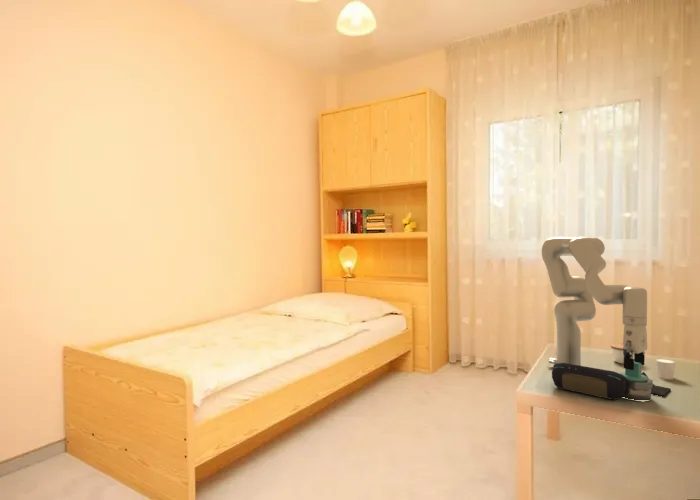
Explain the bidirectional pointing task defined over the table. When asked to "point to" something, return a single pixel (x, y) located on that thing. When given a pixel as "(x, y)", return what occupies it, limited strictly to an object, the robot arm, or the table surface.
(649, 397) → the octagonal studded bezel
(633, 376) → the teal disc with handle
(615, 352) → the lidded jar
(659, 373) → the beige cup
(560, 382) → the portable speaker
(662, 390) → the handheld gaming console
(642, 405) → the table surface
